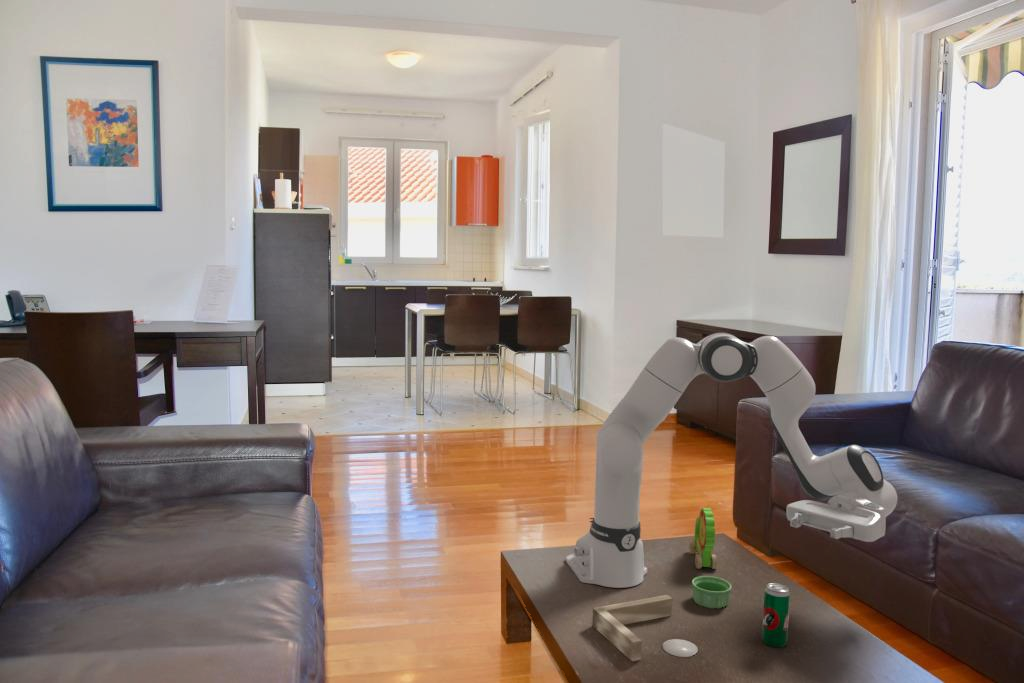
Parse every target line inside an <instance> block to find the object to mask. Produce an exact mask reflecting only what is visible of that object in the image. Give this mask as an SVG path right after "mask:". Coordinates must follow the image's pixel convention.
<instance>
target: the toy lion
mask: <svg viewBox="0 0 1024 683" xmlns="http://www.w3.org/2000/svg"><path fill="white" fill-rule="evenodd" d="M715 537H716V527H715V518H714V513H713V511H712V508H711V507H702V508H701V509H700V511H699V515H698V516H697V517H696V520H695V526H694V539H689V543H688V549H689V550H688V551H689V554H690V555H695V556H694V557H695V558H694V563H695V568H696V569H699V570H700V569H702V567H703V568H704V567H707V568H710V569H711V568H712V569H711V570H716V569H717V568H718V557H717V555H716V554H712V551H713V550H714V545H715V541H716V540H715Z"/></svg>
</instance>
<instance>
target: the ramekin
mask: <svg viewBox="0 0 1024 683" xmlns="http://www.w3.org/2000/svg"><path fill="white" fill-rule="evenodd" d="M691 586H692V600H693V601H694V603H695V604H697V605H699V606H700V607H703V606H704V608H707V607H708V608H707V609H714V608H717V609H723V608H726V607H727V606H728V605H729V602H730V597H731V596H730V594H731V591H732V586H733V585H732V584H731V583H730V582H729V581H727V580H726V579H724V578H721V577H717V576H710V575H702V576H700V575H699V576H696V577H694V578H693V579H692V581H691ZM725 606H726V607H725ZM722 607H723V608H722Z"/></svg>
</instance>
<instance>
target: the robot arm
mask: <svg viewBox="0 0 1024 683" xmlns="http://www.w3.org/2000/svg"><path fill="white" fill-rule="evenodd" d="M702 374H705V375H707V376H708V377H710V378H711V379H713V380H714V381H716V382H721V383H728V382H730V383H731V382H733V381H734V382H735V381H737V380H740V379H743V378H745V377H750V378H751V379H752V380H753V381H754V382H755V383H756V384H757V386H758V387H759V389H760V390H761V391H762V393H763V394H764V395H765V397H766V399H767V401H768V404H769V411H768V419H769V422H770V425H771V427H772V429H773V432H774V433H775V435H776V437H777V439H778V440H779V442H780V444H781V445H782V446H781V447H782V448H783V450H784V452H785V454H786V455H787V457H788V459H789V461H790V463H791V465H792V466H793V469H794V471H795V473H796V476H797V479H798V481H799V484H800V487H801V488H802V489H803V491H804V492H805V493H806V494H807V495H808V496H810V497H811V498H813V499H815V500H810V499H802V500H799V501H798V500H797V501H795V502H791V503H788V504H787V505H786V511H785V512H786V519H787V521H789V522H790V523H789V525H790V527H792V528H795V529H798V528H800V527H802V525H804V526H807V527H810V528H814V529H817V530H820V531H821V530H822V531H825V532H829V534H830V535H829V537H830V538H832V539H836V540H839V539H841V538H850V539H854V540H859V541H862V542H866V543H868V542H869V543H873V542H875V541H877V540H879V539H880V538H883V537H885V535H886V529H887V528H886V525H887V524H886V523H887V522H886V520H887V519H886V517H888V516H889V515H891V514H892V512H893V511H894V510H895V509H896V506H897V504H898V493H897V490H896V489H895V487H894V486H893V485H892V484H891V483H890V482H889V481H887V480H886V479H884V474H883V470H882V469H881V466H880V463H879V461H878V459H877V458H876V457H875V455H873V454H872V452H870V451H869V450H867V449H866V448H864V447H862V446H861V445H858V444H851V445H848V446H846V447H845V446H844V447H842V448H839V449H836V450H835V451H833V452H830V453H827V454H824V455H821V456H818V455H816V454H814V453H813V451H812V450H811V448H810V447H809V444H808V443H807V440H806V439H805V437H804V435H803V433H802V431H801V429H800V428H799V420H800V418H801V417H802V416H803V415H804V413H805V412H806V411H807V410H808V409H809V407H810V406H811V404H812V403H813V401H814V399H815V395H816V391H817V390H816V388H817V387H816V383H815V381H814V378H813V377H812V375H811V373H810V372H809V371H808V370H807V368H806V366H805V365H804V364H803V363H802V362H801V360H800V359H799V358H798V357H797V356H796V355H795V353H794V352H792V350H791V349H790V348H789V346H787V345H786V344H785V343H784V342H782V340H780V339H779V338H778V337H776V336H773V335H762V336H760V337H758V338H756V339H754V340H752V341H751V342H745V341H743V340H741V339H740V338H738V337H736V336H735V335H733V334H732V333H728V332H722V331H720V332H719V331H718V332H712V333H710V334H707V335H705V336H704V337H702V338H700V339H697V340H696V341H693V342H691V341H690V340H688V339H687V338H683V337H677V336H675V337H670V338H668V339H667V340H666V341H665V342H664V343H663V344H662V345H661V346H660V347H659V348H658V349H657V350H656V351H655V353H654V354H653V355H652V356H651V357H650V359H649V360H648V361H647V363H646V364H645V366H644V367H643V369H642V370H641V372H640V373H639V375H638V376H637V377H636V379H635V381H634V382H633V383H632V384H631V386H630V388H629V389H628V391H627V392H626V393H625V395H624V396H623V398H622V399H621V400H620V401H619V402H618V404H616V406H615V408H613V410H612V411H611V413H610V414H609V415H608V417H607V418H606V419H605V421H604V422H603V423H602V425H601V426H600V428H599V429H598V431H597V435H596V455H595V456H596V459H595V460H596V461H595V462H596V463H595V464H596V465H595V487H594V510H593V511H594V513H593V516H594V517H589V521H588V522H589V523H591V524H590V528H589V531H588V532H587V533H585V534H584V535H582V536H581V537H579V538H578V539H577V540H576V542H575V547H574V549H573V550H574V551H573V552H574V553H571V554H569V555H567V556H566V557H565V562H566V563H567V565H568V566H569V567H570V569H571V570H572V572H573V573H574V575H575V576H576V577H577V578H578V579H579V582H581V583H582V584H583V583H585V584H593V585H599V586H602V587H605V588H615V589H617V588H619V589H621V588H622V589H623V588H624V589H625V588H630V587H634V586H638V585H639V584H642V583H643V581H644V576H645V575H646V574H647V573H648V567H647V566H645V560H644V558H645V557H644V544H643V541H642V539H640V538H641V533H642V527H641V522H640V507H641V506H640V499H641V488H642V476H643V467H644V466H643V463H644V444H645V442H646V440H647V439H648V438H649V436H650V435H651V434H652V433H653V432H654V431H655V430H656V429H657V428H658V426H659V425H660V424H661V423H662V422H664V421H665V420H666V418H667V417H668V416H669V414H670V413H671V411H672V410H673V408H674V407H675V405H676V404H677V402H678V401H679V399H680V398H681V397H682V395H683V394H684V393H685V391H686V389H687V388H688V386H689V385H690V383H691V382H692V381H693V380H694V379H695V378H696V377H697V376H699V375H702ZM827 500H828V501H827ZM822 501H823V502H824V501H827V503H823V502H822Z"/></svg>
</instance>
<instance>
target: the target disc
mask: <svg viewBox="0 0 1024 683" xmlns="http://www.w3.org/2000/svg"><path fill="white" fill-rule="evenodd" d="M662 649H663V651H665V652H666V653H667V654H669V655H672V656H674V657H679V658H690V657H694V656H695V655H697V654H698V653H699V652H698V651H699V650H698V646H697V645H696V644H694V643H692V642H691V641H689V640H685V639H680V638H673V639H668V640H665V641H663V643H662ZM696 653H697V654H696ZM693 655H694V656H693Z"/></svg>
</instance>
